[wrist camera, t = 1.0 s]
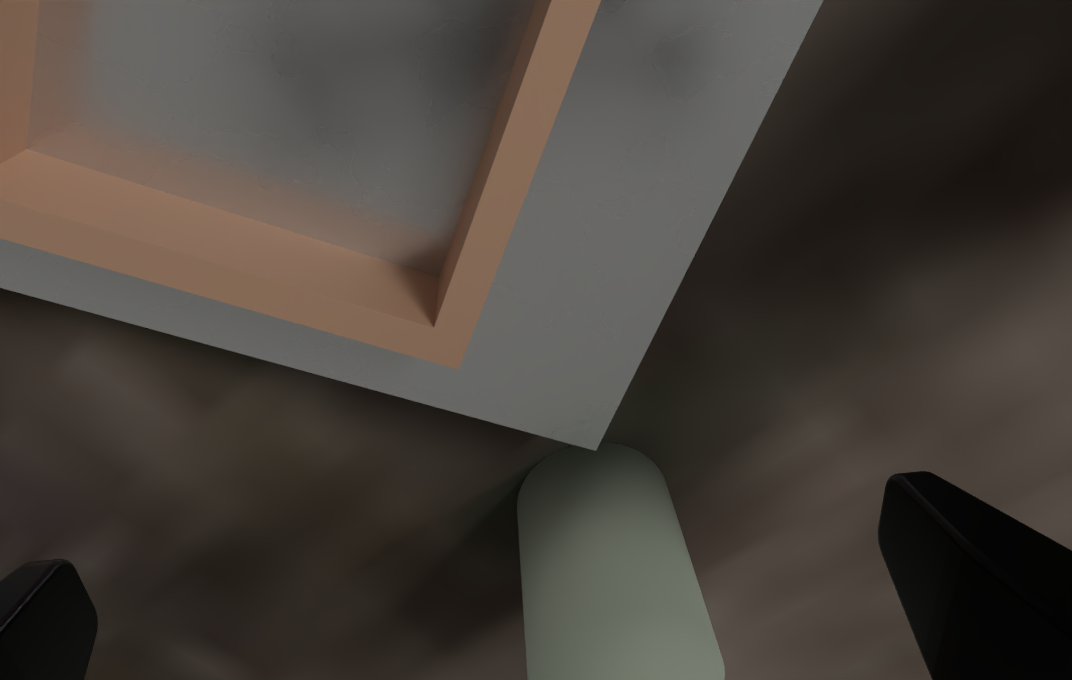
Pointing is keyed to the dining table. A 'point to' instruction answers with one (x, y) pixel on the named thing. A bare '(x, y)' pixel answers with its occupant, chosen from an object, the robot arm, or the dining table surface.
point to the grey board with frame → (386, 180)
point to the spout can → (608, 573)
